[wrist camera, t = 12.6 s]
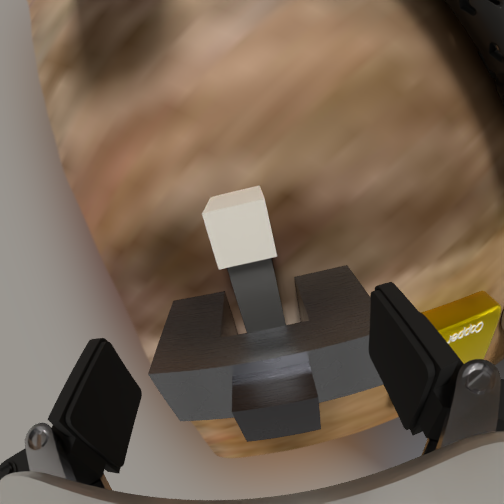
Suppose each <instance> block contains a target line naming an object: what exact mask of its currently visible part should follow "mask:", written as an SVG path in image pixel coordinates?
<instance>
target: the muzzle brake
mask: <svg viewBox="0 0 504 504" xmlns="http://www.w3.org/2000/svg"><path fill="white" fill-rule="evenodd" d="M445 2H446V3H447V5H448V6H449V7H450V8H451V9H452V10H453V12H454V14H455V15H456V16H457V18H458V19H459V21H460V22H461V23H462V25H463V26H464V28H465V29H466V31H467V32H468V34H469V36H470V37H471V39H472V40H473V42H474V44H475V45H476V47H477V48H478V50H479V51H478V53H479V55H480V57H481V58H482V60H483V62H484V64H485V66H486V68H487V69H488V71H489V73H490V75H491V77H492V78H495V79H496V81H495V83H496V89H497V91H498V94H499V96H500V98H501V100H502V103H503V105H504V0H445Z"/></svg>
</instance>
